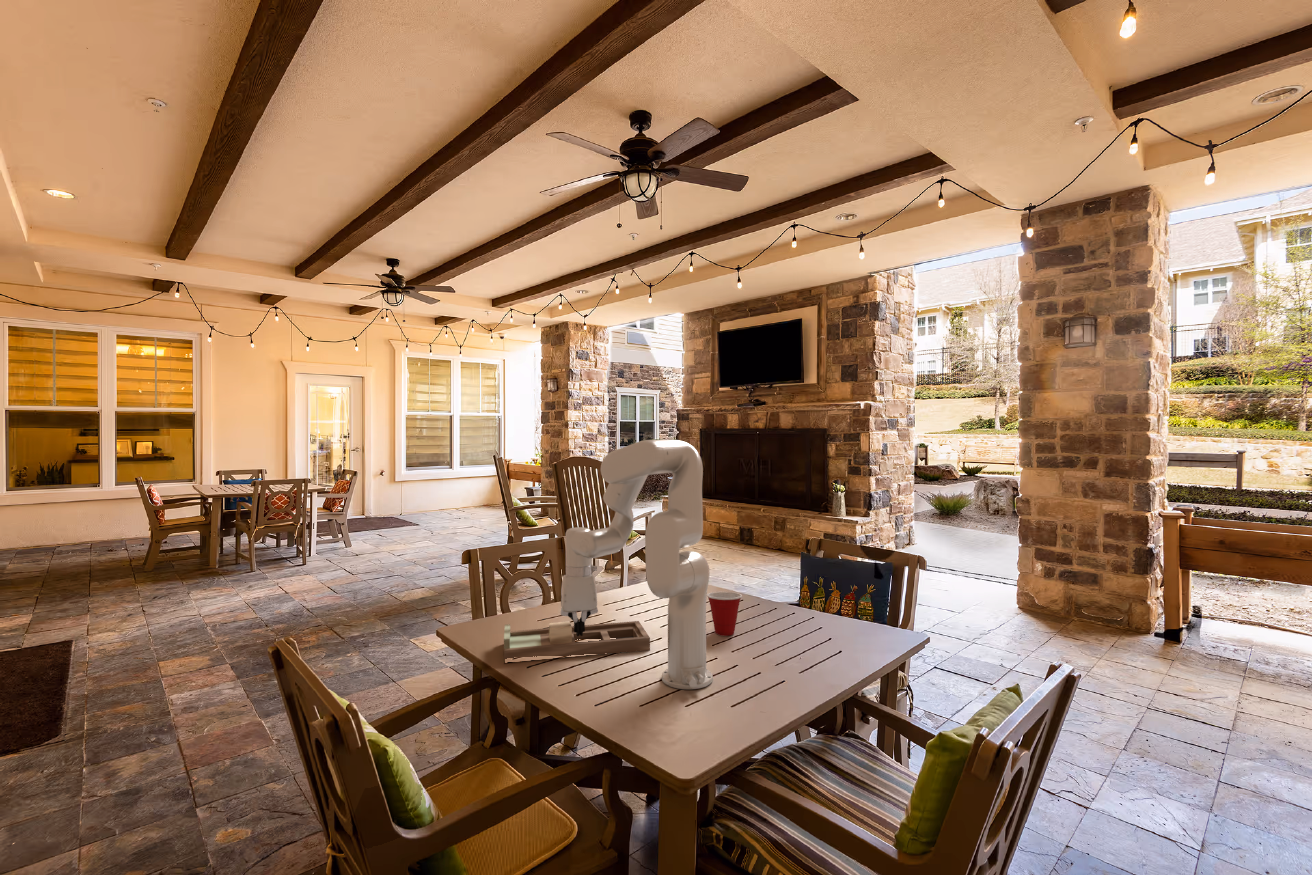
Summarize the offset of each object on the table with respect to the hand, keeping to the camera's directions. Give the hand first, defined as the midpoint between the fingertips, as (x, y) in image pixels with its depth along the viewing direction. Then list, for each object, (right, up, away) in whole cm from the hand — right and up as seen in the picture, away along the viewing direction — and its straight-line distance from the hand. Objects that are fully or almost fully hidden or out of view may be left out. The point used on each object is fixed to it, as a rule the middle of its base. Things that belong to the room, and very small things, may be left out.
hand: (579, 634), depth 171 cm
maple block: (-5, -1, -1) cm, 5 cm away
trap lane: (-1, -4, 0) cm, 4 cm away
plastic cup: (+43, -3, +11) cm, 45 cm away
